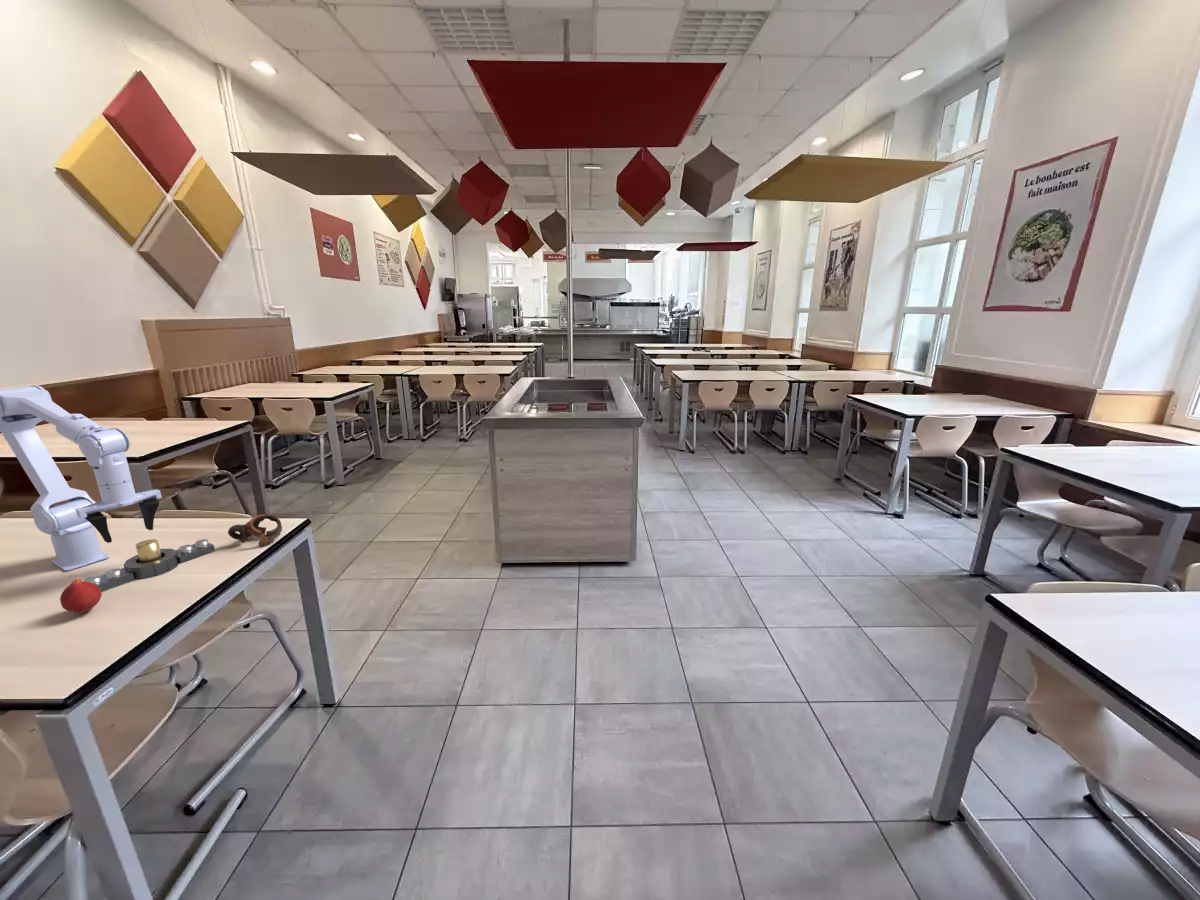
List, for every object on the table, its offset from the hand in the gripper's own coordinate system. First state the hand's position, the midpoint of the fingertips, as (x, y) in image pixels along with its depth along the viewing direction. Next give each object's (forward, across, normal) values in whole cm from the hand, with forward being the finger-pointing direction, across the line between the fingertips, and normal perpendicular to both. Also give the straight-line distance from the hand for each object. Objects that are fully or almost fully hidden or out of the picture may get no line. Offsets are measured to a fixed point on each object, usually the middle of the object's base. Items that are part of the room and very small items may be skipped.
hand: (129, 535), depth 116 cm
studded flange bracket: (+9, +2, -3) cm, 10 cm away
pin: (+9, +2, -2) cm, 10 cm away
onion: (+9, -13, -12) cm, 20 cm away
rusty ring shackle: (+10, +23, -9) cm, 26 cm away
